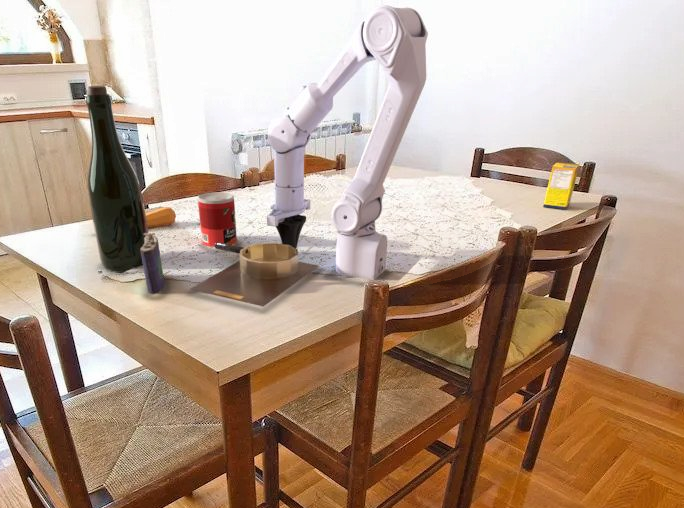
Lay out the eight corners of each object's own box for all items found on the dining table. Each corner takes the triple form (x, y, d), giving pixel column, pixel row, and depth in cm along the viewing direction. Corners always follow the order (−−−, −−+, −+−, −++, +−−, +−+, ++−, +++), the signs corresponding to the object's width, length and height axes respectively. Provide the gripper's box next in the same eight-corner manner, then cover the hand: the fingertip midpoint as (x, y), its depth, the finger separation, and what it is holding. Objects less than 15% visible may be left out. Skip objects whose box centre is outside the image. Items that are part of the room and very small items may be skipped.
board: (319, 270, 108) (319, 265, 107) (263, 311, 91) (262, 306, 91) (253, 257, 114) (253, 252, 114) (189, 293, 98) (188, 288, 97)
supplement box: (569, 205, 148) (580, 163, 142) (565, 210, 144) (577, 167, 138) (546, 202, 151) (556, 161, 145) (542, 207, 146) (552, 165, 140)
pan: (307, 264, 107) (308, 248, 105) (279, 284, 99) (279, 266, 97) (231, 250, 115) (230, 234, 113) (199, 267, 107) (197, 250, 105)
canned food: (231, 252, 117) (228, 201, 111) (197, 250, 118) (192, 199, 112) (241, 241, 123) (238, 192, 117) (208, 239, 125) (204, 191, 119)
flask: (151, 279, 104) (142, 225, 98) (166, 278, 104) (159, 224, 98) (147, 299, 96) (137, 241, 90) (163, 298, 96) (155, 240, 91)
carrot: (175, 224, 137) (169, 206, 136) (179, 221, 133) (173, 203, 132) (98, 244, 130) (92, 225, 129) (100, 242, 126) (93, 223, 125)
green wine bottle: (119, 277, 105) (83, 89, 87) (92, 265, 111) (53, 86, 93) (163, 263, 111) (138, 85, 94) (135, 252, 117) (106, 82, 100)
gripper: (289, 175, 111) (290, 238, 118) (252, 190, 100) (255, 258, 107) (319, 178, 108) (318, 243, 115) (284, 194, 97) (285, 264, 105)
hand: (289, 251), depth 111 cm, fingers closed
